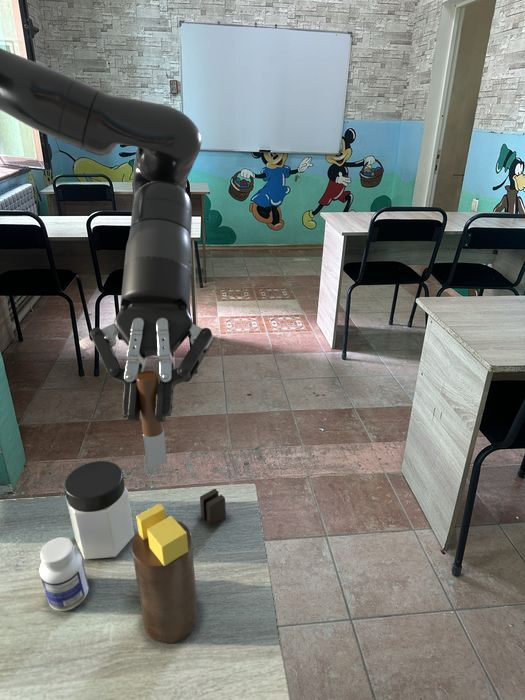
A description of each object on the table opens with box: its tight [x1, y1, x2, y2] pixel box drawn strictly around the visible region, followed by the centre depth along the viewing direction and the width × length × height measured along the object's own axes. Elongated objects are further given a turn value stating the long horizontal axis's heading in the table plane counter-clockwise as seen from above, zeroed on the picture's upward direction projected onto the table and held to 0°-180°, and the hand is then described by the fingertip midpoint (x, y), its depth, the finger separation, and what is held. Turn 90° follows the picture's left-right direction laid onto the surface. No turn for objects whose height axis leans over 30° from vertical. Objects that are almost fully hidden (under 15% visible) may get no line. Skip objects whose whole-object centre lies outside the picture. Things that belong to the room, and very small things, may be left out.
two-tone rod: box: [136, 370, 168, 472], centre depth 52 cm, size 2×2×12 cm
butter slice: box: [135, 503, 167, 540], centre depth 58 cm, size 1×3×3 cm, turn 131°
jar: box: [63, 460, 135, 560], centre depth 72 cm, size 9×8×12 cm
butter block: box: [147, 515, 188, 566], centre depth 55 cm, size 3×3×3 cm
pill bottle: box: [38, 536, 89, 612], centre depth 64 cm, size 5×5×9 cm
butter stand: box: [131, 519, 199, 644], centre depth 60 cm, size 7×7×14 cm
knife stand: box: [199, 488, 227, 528], centre depth 78 cm, size 3×3×4 cm
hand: (147, 419), depth 49 cm, fingers closed on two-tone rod, 2 cm apart
